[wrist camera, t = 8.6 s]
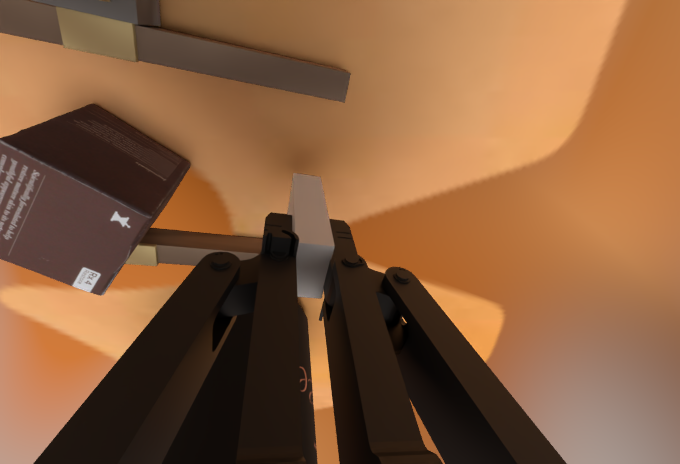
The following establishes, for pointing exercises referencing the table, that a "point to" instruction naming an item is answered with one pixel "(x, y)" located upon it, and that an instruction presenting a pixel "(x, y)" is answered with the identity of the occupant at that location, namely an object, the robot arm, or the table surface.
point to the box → (81, 195)
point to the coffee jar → (236, 402)
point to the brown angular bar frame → (177, 52)
